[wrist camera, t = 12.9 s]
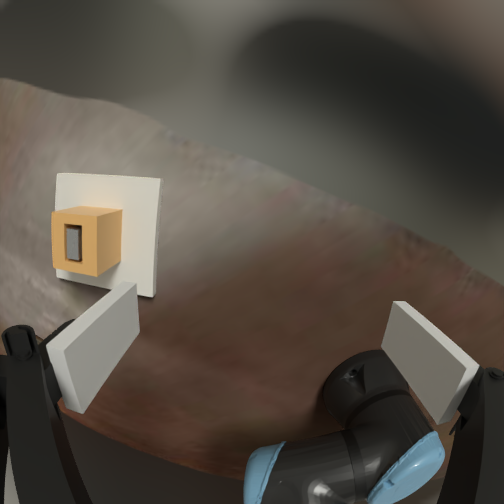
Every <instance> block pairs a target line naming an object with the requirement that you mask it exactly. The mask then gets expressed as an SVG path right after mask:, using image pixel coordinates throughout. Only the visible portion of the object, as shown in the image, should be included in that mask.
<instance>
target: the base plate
mask: <svg viewBox="0 0 504 504" xmlns="http://www.w3.org/2000/svg"><path fill="white" fill-rule="evenodd" d="M163 183H164V179H159V178H147V177H134V176H120V175H102V174H79V173H57V182H56V199H55V211H58V210H63V209H67V208H72V207H77V206H90V207H102V208H113V209H123V213H122V236H121V261H120V262H118V263H117V264H115V265H114V266H112V267H111V268H109V269H108V270H107V271H105V272H104V273H102V274H101V275H99V276H98V277H95V276H90V275H85V274H80V273H75V272H70V271H66V270H61V269H56V272H57V277H58V278H62V279H66V280H70V281H75V282H79V283H84V284H88V285H93V286H97V287H102V288H107V289H111V290H113V289H114V288H115V287H116V286H118V285H119V284H120V283H122V282H123V281H124V282H132V283H137V295H142V296H147V297H153V296H154V295H155V294H156V273H157V252H158V237H159V224H160V212H161V202H162V192H163Z"/></svg>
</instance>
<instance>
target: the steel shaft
mask: <svg viewBox="0 0 504 504" xmlns="http://www.w3.org/2000/svg"><path fill="white" fill-rule="evenodd" d="M67 258H69V259H74V260H80V259H82V225H76V226H73V227H70V228H67Z"/></svg>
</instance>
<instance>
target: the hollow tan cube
mask: <svg viewBox="0 0 504 504" xmlns="http://www.w3.org/2000/svg"><path fill="white" fill-rule="evenodd" d="M122 213H123V209H113V208H102V207H90V206H77V207H72V208H67V209H63V210H58V211H54V212H52V255H53V268H56V269H61V270H66V271H70V272H75V273H80V274H85V275H90V276H95V277H98V276H99V275H101V274H102V273H104V272H105V271H107V270H108V269H109V268H111V267H112V266H114V265H115V264H117V263H118V262H120V261H121V236H122ZM76 225H82V259H80V260H74V259H69V258H67V228H70V227H73V226H76Z"/></svg>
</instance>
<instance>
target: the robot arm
mask: <svg viewBox="0 0 504 504" xmlns="http://www.w3.org/2000/svg"><path fill="white" fill-rule="evenodd" d="M139 332H140V328H139V316H138V301H137V283H132V282H124V281H123V282H122V283H120V284H119V285H118V286H116V287H115V288H114V289H113V290H111V291H110V292H109V293H108V294H106V295H105V296H104V297H103V298H101V299H100V300H99V301H98V302H96V303H95V304H94V305H93V306H92V307H90V308H89V309H88V310H87V311H85V312H84V313H83V314H82V315H81V316H79V317H78V318H77V319H72V320H70V321H68V322H65V323H63V324H62V325H61V326H60V327H59V328H57V330H55V331H54V332H53V333H52V334H50V335H49V336H48V337H47V338H45V339H44V340H43V341H42V342H41V343H40V344H37V340H36V336H35V332H34V329H33V328H32V327H30V326H28V325H16V326H12V327H10V328H7V329H6V330H5V331H4V332H3V333H2V335H1V336H2V340H3V343H4V346H5V350H6V353H7V356H6V355H0V504H4V487H5V473H6V464H7V455H8V448H9V449H10V457H11V464H12V470H13V475H14V481H15V486H16V490H17V494H18V499H19V503H20V504H93V503H92V501H91V499H90V497H89V495H88V492H87V490H86V488H85V485H84V483H83V480H82V478H81V476H80V473H79V470H78V468H77V465H76V462H75V459H74V456H73V454H72V451H71V448H70V445H69V441H68V439H67V435H66V431H65V428H64V424H63V420H62V417H61V413H60V409H59V406H58V404H57V402H58V401H59V399H60V398H61V397H62V398H63V401H64V403H65V406H66V408H68V409H71V410H73V411H76V412H79V413H82V414H83V413H84V412H85V410H86V409H87V407H88V406H89V404H90V403H91V401H92V400H93V398H94V397H95V395H96V394H97V392H98V391H99V389H100V388H101V386H102V385H103V383H104V382H105V381H106V379H107V378H108V376H109V375H110V373H111V372H112V370H113V369H114V368H115V366H116V365H117V363H118V362H119V360H120V359H121V358H122V356H123V355H124V353H125V352H126V350H127V349H128V348H129V346H130V345H131V343H132V342H133V341H134V339H135V338H136V336H137V335H138V334H139ZM381 347H382V349H383V350H371V351H366V352H363V353H360V354H357V355H355V356H353V357H351V358H349V359H348V360H346V361H345V362H343V363H342V364H341V365H339V366H338V367H337V368H336V369H335V370H334V371H333V372H332V373H331V375H330V376H329V378H328V379H327V381H326V383H325V386H324V389H323V399H324V402H325V405H326V408H327V410H328V412H329V413H330V414H331V415H332V416H333V417H334V418H335V419H336V420H337V421H338V422H339V423H340V425H341V426H342V427H343V428H344V429H345V430H342V431H338V432H334V433H330V434H326V435H322V436H318V437H313V438H309V439H304V440H298V441H293V442H286V441H284V442H281V443H280V444H275V445H270V446H265V447H260V448H258V449H256V450H255V451H254V452H253V453H252V454H251V455H250V457H249V460H248V463H247V466H246V471H245V478H244V504H352V503H356V502H359V501H363V500H366V499H367V503H368V504H392V503H395V502H397V501H399V500H401V499H403V498H405V497H406V496H408V495H410V494H411V493H413V492H414V491H416V490H417V489H419V488H420V487H421V486H422V485H424V484H425V483H426V482H427V481H428V480H429V479H430V478H431V477H432V476H433V475H434V474H435V473H436V472H437V471H438V469H439V468H440V467H441V465H442V463H443V461H444V457H445V451H444V448H443V446H442V444H441V442H440V440H439V438H438V434H437V432H436V431H434V429H433V428H432V426H431V425H430V423H429V422H428V420H427V419H426V417H425V416H424V414H423V413H422V411H421V409H420V408H419V406H418V405H417V403H416V402H415V401H414V399H413V398H412V396H411V395H410V392H409V387H408V384H409V385H410V386H411V388H412V389H413V391H414V392H415V393H416V395H417V396H418V398H419V399H420V401H421V402H422V403H423V405H424V406H425V408H426V409H427V411H428V412H429V413H430V415H431V416H432V418H433V419H434V421H435V422H436V424H437V425H438V424H442V423H445V422H448V421H451V419H452V417H453V416H454V414H455V412H456V411H457V410H458V411H459V412H460V413H461V415H460V417H459V418H458V420H457V422H456V423H455V425H454V427H453V428H452V430H451V431H450V433H449V435H451V434H452V433H453V432H454V431H455V435H454V441H453V446H452V451H451V456H450V460H449V464H448V468H447V472H446V476H445V479H444V483H443V486H442V490H441V492H440V496H439V499H438V502H437V504H504V372H503V371H501V370H500V369H497V368H492V367H489V368H486V369H485V370H484V369H483V368H482V367H481V366H480V365H479V364H478V363H477V362H476V361H475V360H473V359H472V358H471V357H470V356H468V354H467V353H466V352H464V351H463V350H462V349H461V348H460V347H459V346H458V345H456V344H455V343H454V342H453V341H452V340H450V339H449V338H448V337H447V336H446V335H445V334H443V333H442V332H441V331H440V330H439V329H438V328H436V327H435V326H434V325H433V324H432V323H431V322H429V321H428V320H427V319H426V318H425V317H423V316H422V315H421V314H420V313H419V312H417V311H416V310H415V309H414V308H412V307H411V306H410V305H409V304H408V303H406V302H405V301H393V305H392V309H391V313H390V317H389V320H388V324H387V328H386V331H385V335H384V338H383V342H382V345H381Z"/></svg>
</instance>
